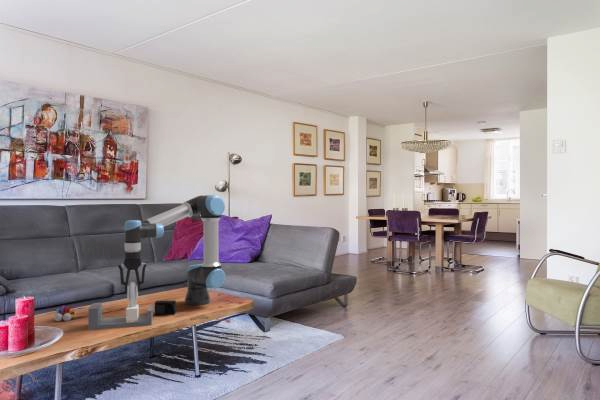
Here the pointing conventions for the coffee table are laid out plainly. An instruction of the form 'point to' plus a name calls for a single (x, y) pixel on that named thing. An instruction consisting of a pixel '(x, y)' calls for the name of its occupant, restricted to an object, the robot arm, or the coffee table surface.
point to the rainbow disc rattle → (64, 314)
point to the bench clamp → (115, 319)
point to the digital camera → (165, 307)
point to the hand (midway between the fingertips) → (132, 298)
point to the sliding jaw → (132, 304)
